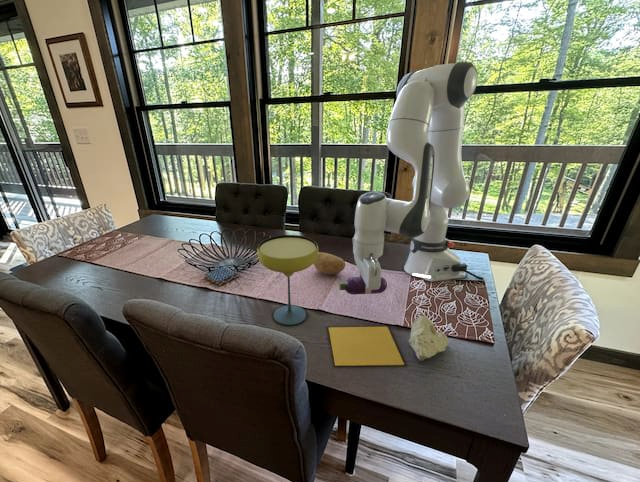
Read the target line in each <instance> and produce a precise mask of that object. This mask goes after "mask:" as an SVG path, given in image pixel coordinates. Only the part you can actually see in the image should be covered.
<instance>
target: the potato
mask: <svg viewBox="0 0 640 482" xmlns="http://www.w3.org/2000/svg"><path fill="white" fill-rule="evenodd" d="M346 265H347V264H346V262H345V260H344V259H343V258H342V257H339V256H337V255H335V254H331V253H327V252H321V251H318V258H317V260H316V261H315V263H314V264H313V266H314V268H315V269H316V270H317V271H318V272H321V273H323V274H324V275H337V274H339V273H341V272H342V271H343V270H344V269H345V268H346Z"/></svg>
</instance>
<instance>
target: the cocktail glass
mask: <svg viewBox="0 0 640 482" xmlns="http://www.w3.org/2000/svg"><path fill="white" fill-rule="evenodd" d="M256 251H257V259H258V262H259V263H260V264H261V265H262V266H263V267H265V268H266V269H268V270H269V271H272V272H276V273H281V274H283V275H284V276H285V277H287V305H282V306H280V307H278V308H277V309H276V310H275V311H274V312H273V319H274V320H275V322H277V323H278V324H281V325H283V326H295V325H298V324H300V323H302V322H304V321H305V320H306V318H307V312H306V311H305V309H304V308H302V307H301V306H298V305H293V304H292V303H291V301H292V300H291V277H292V276H293V275H294V274H295V273H298V272H301V271H305V270H306V269H308V268H311V266H313V265H314V263H315V261H316V260H317V258H318V253H319V245H318V243H317V242H316V241H315V240H314V239H312V238H310V237H307V236H303V235H298V234H297V235H296V234H283V235H276V236H272V237H269V238H266V239H263V240H262V241H261V242H260V243H259V244H258V246H257V249H256Z"/></svg>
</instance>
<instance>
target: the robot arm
mask: <svg viewBox="0 0 640 482" xmlns="http://www.w3.org/2000/svg"><path fill="white" fill-rule="evenodd" d="M477 84H478V70H477V67H476V66H475V64H474V63H473V62H470V61H458V62H455V63H444V64H437V65H434V66H431V67H427V68H424V69H420V70H418V71H417V70H413V71H411V72H409V73H406V74H405V75H404V76H403V77H402V79H401V80H400V81H399V83H398V85H397V89H396V100H395V102H394V105H393V108H392V110H391V115H390V118H389V121H388V125H387V129H386V133H385V134H386V135H385V142H386V146H387V148H388V149H389V151H390V152H391V153H392V154H393V155H395V156H396V157H398V158H400V159H402V160H404V161H405V162H407V163H409V164H410V165H411V166H412V167H413V169H414V176H413V178H412V183H411V185H412V189H413V192H412V198H411V200H410V201H405V200H398V199H394V198H389V197H387V196H386V195H385V194H384V193H383V192H380V191H369V192H366V193H363V194H361V195H360V196H359V197H358V200H357V202H356V206H355V213H354V229H355V231H354V235H353V237H352V240H351V242H352V253H353V258H354V263H355V265H356V266H357V270H358V271H359V272H358V273H359V277H362V278H363V280H364V282H365V285H366V287H365V290H364V291H365V293H366V294H365V295H371V294H370V293H371V290H376V289H379V288H380V285H381V277H382V268H381V264H380V262H379V261H378V259H379V258H381V257H382V256H383V254H384V246H385V232H388V233H392V234H397V235H399V236H403V237H406V238H409V239H411V241H410V247H409V250H410V251H409V254H408V257H407V260H406V261H405V264H404V266H403V270H404V271H405V272H406V273H407V274H408V275H410V276H413V277H415V278H419V279H423V280H425V281H427V282H431V283H433V282H440V281H448V280H457V279H464V278H466V275H467V274H468V275H470V276H472V277H474V278H476V279H478V280H482V281H483V280H484V277H483V276H479V275H476V274H474V273H473V272H471V271H469V270H467V269H468V264H466V263H465V262H463V263H461V259H460V257H459V256H458V255H457V254H456V253H455V252H454V251H453V250H452V248H454V246H455V243H454V242H453V241H451V240H449V239H448V238H446V235H447V232H448V231H447V230H448V227H449V220H450V219H449V216H448V213H447V209H457V208H459V207H461V206H463V205H464V204H465V203H466V201H467V200H468V199H469V196H470V193H471V189H470V185H469V183H468V181H467V180H466V177H465V173H464V166H463V161H462V145H463V138H464V137H463V135H464V126H465V116H466V115H465V114H466V113H465V112H466V111H465V109H466V107H465V104H466V103H467V102H468V101H469V100H470V99H471V97H472V96H473V95H474V94H475V91H476V88H477Z"/></svg>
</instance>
